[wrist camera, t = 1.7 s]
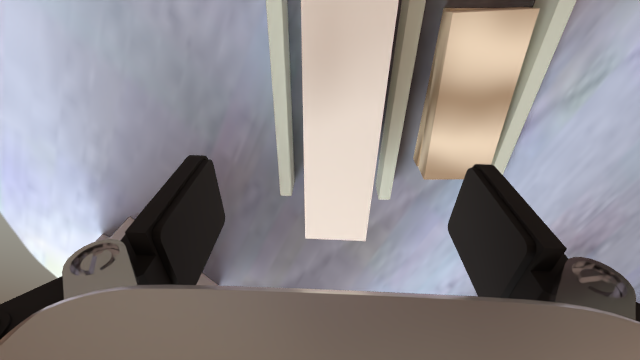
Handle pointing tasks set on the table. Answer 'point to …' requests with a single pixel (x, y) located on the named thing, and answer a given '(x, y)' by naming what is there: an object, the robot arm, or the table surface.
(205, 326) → the robot arm
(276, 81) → the rack
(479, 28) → the offcut upper
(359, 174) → the cream rectangular block
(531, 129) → the table surface
